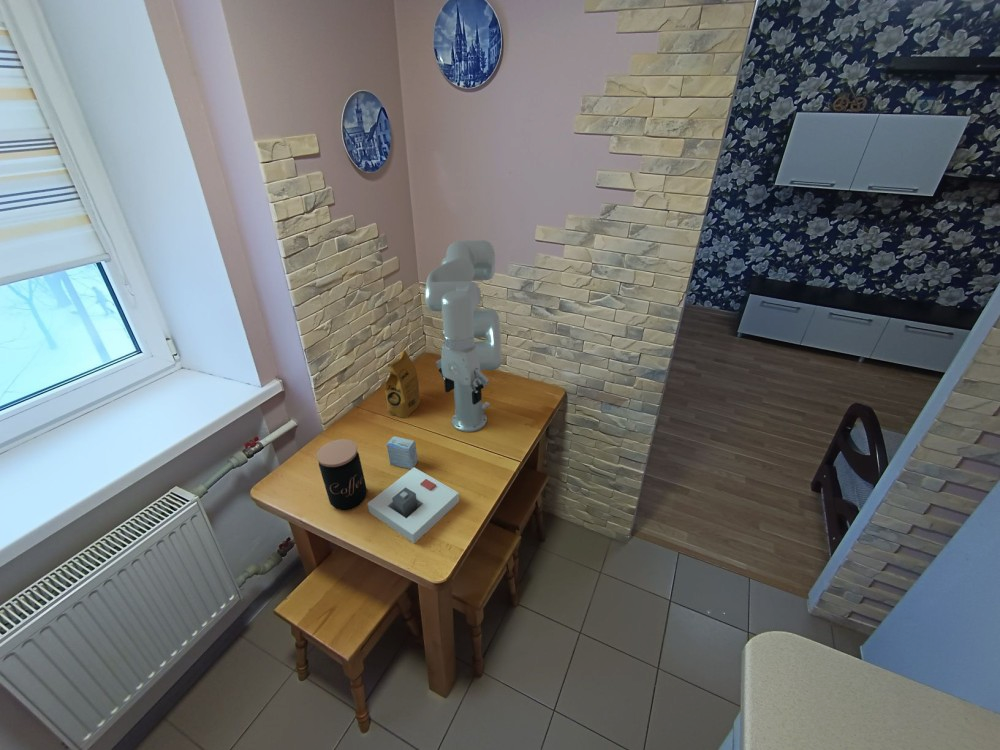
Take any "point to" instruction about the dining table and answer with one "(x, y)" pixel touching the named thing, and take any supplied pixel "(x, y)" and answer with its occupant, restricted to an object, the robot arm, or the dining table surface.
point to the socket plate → (430, 501)
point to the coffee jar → (342, 474)
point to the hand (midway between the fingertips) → (463, 396)
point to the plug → (405, 502)
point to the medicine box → (402, 452)
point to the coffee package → (402, 387)
